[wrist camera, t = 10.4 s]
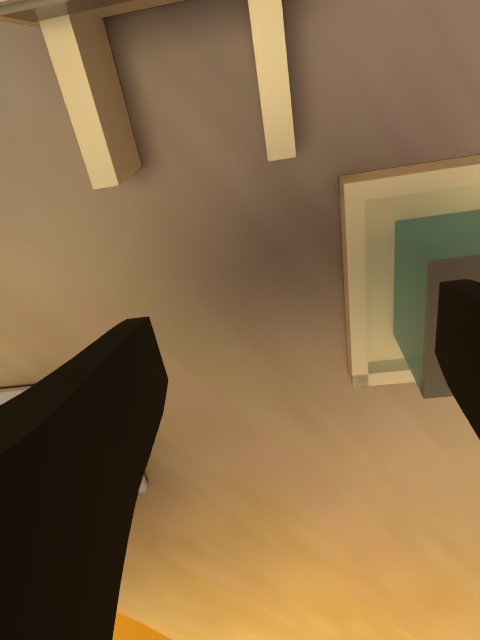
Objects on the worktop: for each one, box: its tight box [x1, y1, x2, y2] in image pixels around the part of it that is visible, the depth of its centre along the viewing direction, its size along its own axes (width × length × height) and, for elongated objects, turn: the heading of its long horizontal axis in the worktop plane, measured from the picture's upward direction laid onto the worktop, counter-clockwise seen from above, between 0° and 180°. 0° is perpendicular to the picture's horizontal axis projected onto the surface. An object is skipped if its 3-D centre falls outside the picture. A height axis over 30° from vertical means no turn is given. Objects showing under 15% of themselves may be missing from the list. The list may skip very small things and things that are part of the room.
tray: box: [339, 155, 480, 387], centre depth 20 cm, size 11×9×2 cm
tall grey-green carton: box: [393, 209, 480, 399], centre depth 18 cm, size 6×4×5 cm, turn 9°
